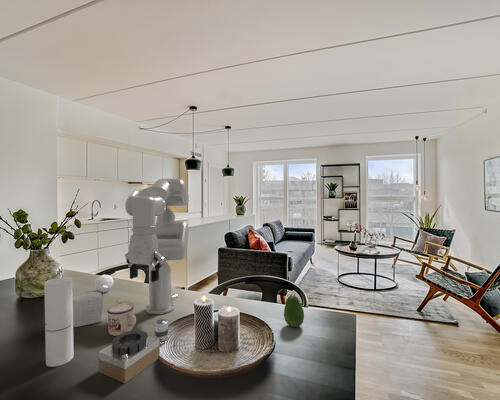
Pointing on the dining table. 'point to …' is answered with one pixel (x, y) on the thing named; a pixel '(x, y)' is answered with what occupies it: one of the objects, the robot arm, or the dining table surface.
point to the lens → (161, 330)
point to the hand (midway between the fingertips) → (144, 279)
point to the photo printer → (87, 309)
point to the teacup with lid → (120, 318)
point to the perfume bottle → (104, 283)
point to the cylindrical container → (58, 321)
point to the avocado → (293, 312)
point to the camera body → (128, 355)
